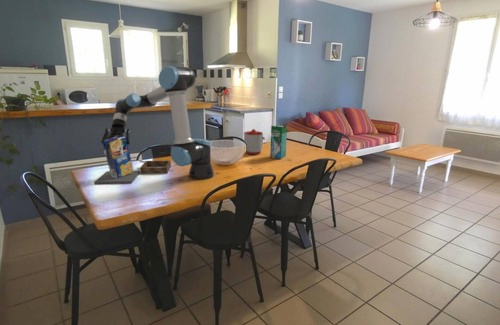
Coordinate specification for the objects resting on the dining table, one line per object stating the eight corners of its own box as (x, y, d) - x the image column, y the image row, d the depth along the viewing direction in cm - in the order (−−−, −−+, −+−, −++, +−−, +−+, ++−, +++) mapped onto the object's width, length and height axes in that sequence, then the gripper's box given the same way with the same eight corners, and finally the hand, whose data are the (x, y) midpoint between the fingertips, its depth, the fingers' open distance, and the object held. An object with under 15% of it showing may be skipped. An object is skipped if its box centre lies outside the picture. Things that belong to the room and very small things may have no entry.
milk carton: (285, 157, 232) (287, 125, 225) (280, 159, 225) (282, 126, 218) (275, 155, 237) (276, 124, 230) (270, 157, 230) (271, 125, 223)
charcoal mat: (140, 172, 188) (139, 170, 188) (131, 183, 169) (131, 181, 168) (107, 173, 186) (106, 171, 185) (94, 184, 167) (94, 181, 166)
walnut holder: (171, 166, 203) (170, 160, 202) (167, 173, 188) (166, 167, 187) (146, 166, 202) (145, 160, 201) (140, 173, 186) (139, 167, 185)
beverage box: (133, 171, 181) (126, 137, 173) (118, 178, 173) (109, 142, 164) (126, 169, 185) (119, 135, 176) (110, 176, 176) (102, 141, 168)
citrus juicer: (265, 155, 235) (265, 130, 229) (243, 155, 235) (243, 130, 230) (264, 151, 250) (265, 127, 244) (243, 150, 250) (244, 127, 245)
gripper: (138, 125, 185) (133, 157, 174) (103, 125, 183) (96, 157, 172) (135, 118, 179) (130, 150, 168) (99, 118, 177) (92, 150, 166)
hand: (113, 154), depth 170 cm, fingers open, 8 cm apart
